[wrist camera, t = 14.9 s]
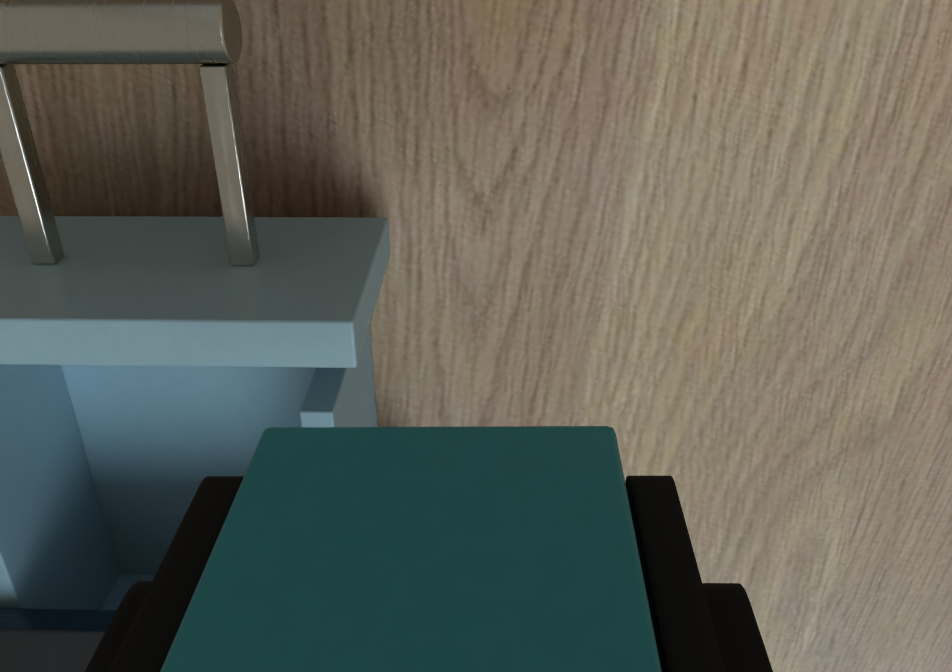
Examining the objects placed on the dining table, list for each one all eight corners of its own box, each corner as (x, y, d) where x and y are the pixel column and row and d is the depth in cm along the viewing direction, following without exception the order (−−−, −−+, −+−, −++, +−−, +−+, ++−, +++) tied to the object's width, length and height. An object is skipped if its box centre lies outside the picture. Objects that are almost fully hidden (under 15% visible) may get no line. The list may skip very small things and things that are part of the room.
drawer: (-80, -20, 21) (-287, 20, 16) (373, -21, 21) (326, 19, 15) (96, 566, 31) (7, 719, 25) (410, 571, 30) (388, 727, 25)
